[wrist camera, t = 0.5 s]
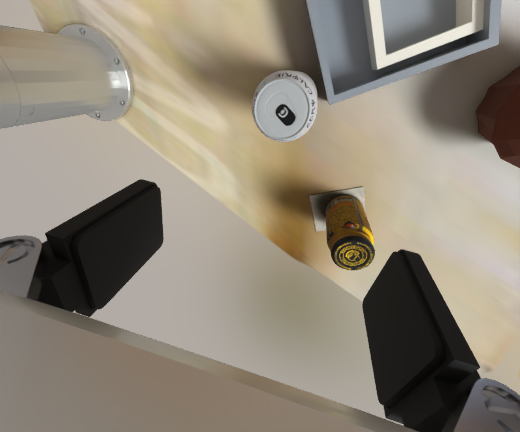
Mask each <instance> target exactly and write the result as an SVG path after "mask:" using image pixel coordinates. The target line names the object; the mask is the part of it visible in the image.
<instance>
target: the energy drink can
mask: <svg viewBox="0 0 520 432" xmlns="http://www.w3.org/2000/svg"><path fill="white" fill-rule="evenodd" d="M252 114H253V118H254V121H255V123H256V125H257V127H258V128H259V130H260V131H261V132H262V133H263V134H264V135H265V136H266V137H268V138H270V139H272V140H275V141H279V142H289V141H293V140H296V139H298V138H300V137H301V136H303V135H304V134H305V133H306V132H307V131H308V130H309V129H310V127H311V126H312V124H313V122H314V120H315V117H316V114H317V89H316V85H315V83H314V81H313V80H312V78H311V77H309V76H308V75H307V74H305V73H303V72H299V71H290V70H281V71H277V72H274V73H271V74H270V75H268V76H267V77H265V78H264V79H263V80H262V81H261V82H260V84H259V85H258V87H257V88H256V91H255V93H254V96H253V100H252Z"/></svg>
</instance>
